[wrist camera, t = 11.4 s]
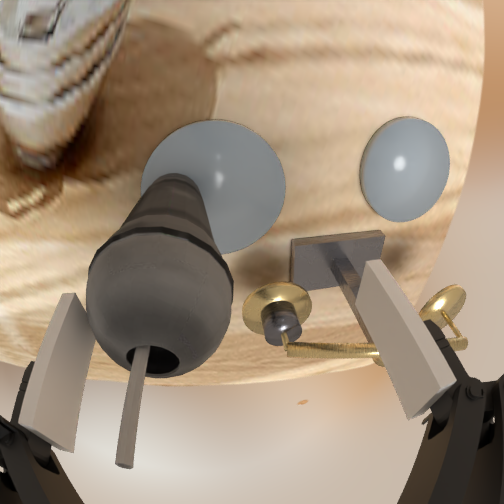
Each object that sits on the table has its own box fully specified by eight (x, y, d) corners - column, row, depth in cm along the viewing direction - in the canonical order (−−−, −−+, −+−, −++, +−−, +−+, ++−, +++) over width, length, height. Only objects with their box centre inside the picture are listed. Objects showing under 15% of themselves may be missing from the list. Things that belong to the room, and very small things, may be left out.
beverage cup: (159, 250, 25) (143, 492, 8) (114, 184, 21) (-2, 433, 4) (232, 214, 24) (299, 470, 8) (192, 139, 20) (179, 419, 4)
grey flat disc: (132, 131, 20) (128, 134, 19) (281, 114, 21) (284, 116, 20) (159, 254, 27) (157, 261, 26) (281, 240, 28) (284, 247, 27)
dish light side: (364, 111, 21) (370, 113, 20) (448, 123, 22) (456, 126, 21) (353, 220, 27) (359, 226, 26) (432, 214, 28) (438, 219, 27)
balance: (233, 245, 27) (255, 390, 15) (418, 226, 29) (500, 315, 17) (238, 292, 31) (258, 424, 18) (406, 267, 32) (471, 357, 20)
